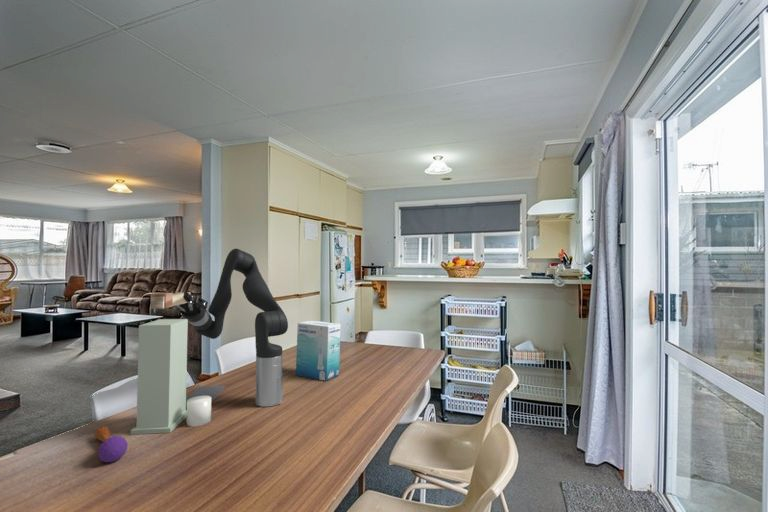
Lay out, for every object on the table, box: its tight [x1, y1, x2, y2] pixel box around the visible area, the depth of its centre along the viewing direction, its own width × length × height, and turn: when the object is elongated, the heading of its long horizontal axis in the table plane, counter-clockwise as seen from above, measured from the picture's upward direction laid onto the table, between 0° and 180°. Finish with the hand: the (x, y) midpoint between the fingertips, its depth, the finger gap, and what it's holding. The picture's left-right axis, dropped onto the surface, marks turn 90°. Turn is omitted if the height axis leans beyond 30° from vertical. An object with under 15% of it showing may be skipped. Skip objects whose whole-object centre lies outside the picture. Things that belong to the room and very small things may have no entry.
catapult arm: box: [150, 291, 192, 310], centre depth 118 cm, size 4×20×4 cm, turn 7°
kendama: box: [94, 426, 128, 463], centre depth 95 cm, size 6×6×20 cm
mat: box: [186, 385, 226, 410], centre depth 133 cm, size 10×22×1 cm, turn 7°
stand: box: [130, 318, 189, 435], centre depth 112 cm, size 11×14×32 cm
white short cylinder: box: [185, 396, 212, 427], centre depth 113 cm, size 7×7×7 cm
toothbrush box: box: [295, 320, 342, 382], centre depth 161 cm, size 18×10×24 cm, turn 63°
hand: (178, 294), depth 122 cm, fingers closed on catapult arm, 3 cm apart
